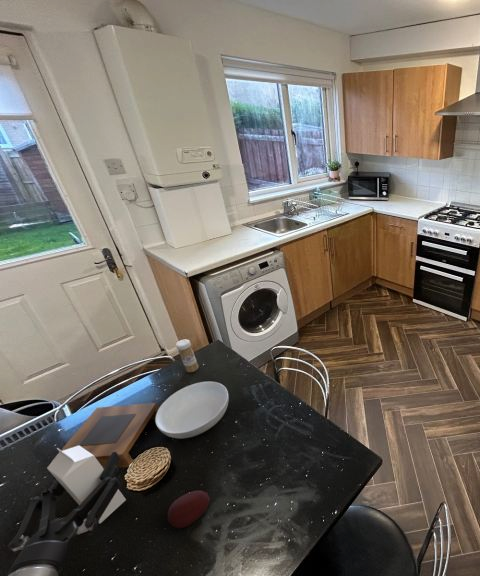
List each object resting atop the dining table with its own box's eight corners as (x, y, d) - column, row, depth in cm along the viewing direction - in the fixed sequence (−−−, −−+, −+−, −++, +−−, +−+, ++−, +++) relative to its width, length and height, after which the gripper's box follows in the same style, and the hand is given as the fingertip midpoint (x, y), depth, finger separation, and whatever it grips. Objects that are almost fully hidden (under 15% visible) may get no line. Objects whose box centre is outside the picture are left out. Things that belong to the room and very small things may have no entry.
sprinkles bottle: (188, 374, 122) (178, 348, 115) (184, 369, 124) (173, 342, 118) (201, 368, 125) (191, 342, 118) (196, 363, 127) (186, 337, 121)
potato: (175, 506, 81) (167, 493, 78) (213, 493, 83) (207, 480, 81) (169, 538, 75) (160, 526, 72) (210, 523, 77) (203, 511, 74)
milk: (112, 489, 82) (73, 435, 71) (126, 500, 79) (88, 445, 69) (85, 513, 77) (38, 459, 66) (99, 525, 75) (53, 470, 64)
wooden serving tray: (62, 473, 88) (51, 460, 85) (104, 419, 103) (96, 407, 100) (130, 466, 90) (122, 454, 87) (162, 414, 105) (156, 402, 102)
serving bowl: (242, 395, 113) (238, 381, 110) (214, 448, 95) (208, 434, 91) (186, 393, 113) (180, 380, 110) (146, 447, 95) (138, 432, 92)
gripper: (-28, 604, 56) (49, 481, 75) (109, 563, 62) (149, 457, 81) (-56, 587, 53) (33, 462, 72) (93, 545, 58) (138, 439, 77)
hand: (94, 460), depth 76 cm, fingers closed on milk, 8 cm apart
